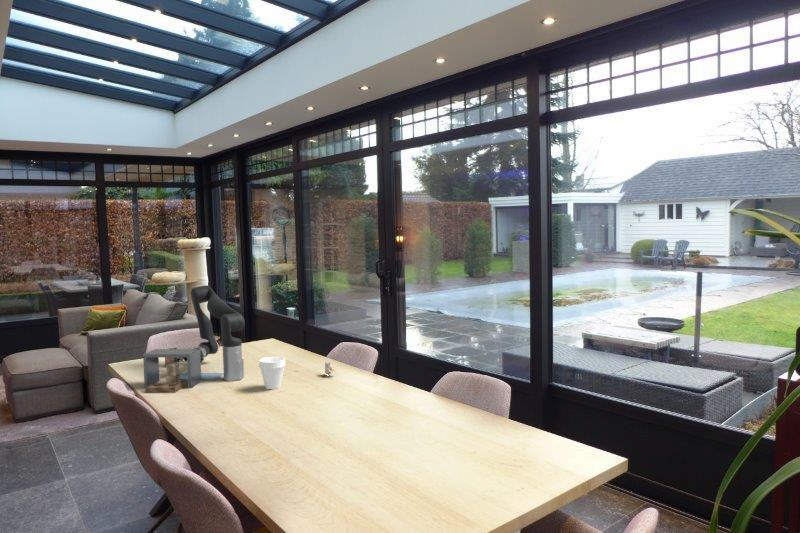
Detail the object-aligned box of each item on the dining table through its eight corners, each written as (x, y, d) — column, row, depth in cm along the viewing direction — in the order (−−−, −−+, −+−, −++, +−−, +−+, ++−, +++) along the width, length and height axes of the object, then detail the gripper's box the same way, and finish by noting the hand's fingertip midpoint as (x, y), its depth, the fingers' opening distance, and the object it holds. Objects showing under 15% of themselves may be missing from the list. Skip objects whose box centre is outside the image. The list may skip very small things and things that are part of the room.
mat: (224, 373, 296) (224, 372, 296) (216, 379, 284) (216, 378, 284) (176, 373, 298) (176, 372, 298) (166, 379, 286) (166, 378, 286)
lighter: (166, 367, 312) (166, 349, 311) (163, 366, 314) (162, 349, 313) (180, 364, 318) (179, 347, 318) (176, 363, 321) (176, 346, 320)
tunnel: (201, 381, 282) (200, 348, 281) (191, 388, 270) (190, 354, 269) (156, 381, 283) (155, 349, 282) (144, 388, 271) (143, 354, 270)
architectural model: (331, 374, 293) (331, 360, 293) (336, 377, 287) (335, 363, 286) (325, 375, 292) (324, 361, 291) (329, 378, 285) (329, 364, 285)
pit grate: (181, 388, 270) (181, 383, 269) (175, 392, 263) (174, 387, 262) (153, 388, 270) (153, 383, 270) (145, 392, 263) (145, 387, 263)
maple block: (180, 383, 279) (179, 361, 278) (176, 386, 274) (175, 363, 273) (171, 383, 279) (170, 361, 278) (166, 386, 274) (166, 363, 274)
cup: (279, 391, 262) (278, 362, 261) (255, 390, 264) (254, 362, 263) (290, 384, 274) (289, 357, 273) (266, 383, 276) (265, 356, 275)
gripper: (183, 347, 304) (169, 354, 288) (209, 347, 304) (196, 354, 287) (183, 361, 305) (170, 369, 289) (209, 361, 304) (197, 369, 288)
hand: (183, 362), depth 288 cm, fingers open, 8 cm apart
